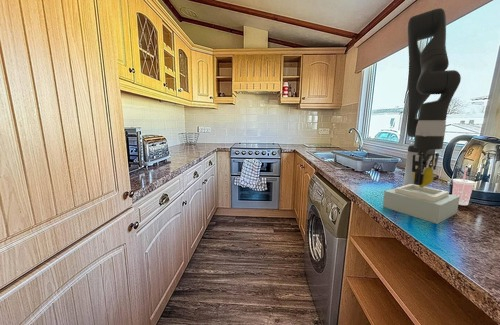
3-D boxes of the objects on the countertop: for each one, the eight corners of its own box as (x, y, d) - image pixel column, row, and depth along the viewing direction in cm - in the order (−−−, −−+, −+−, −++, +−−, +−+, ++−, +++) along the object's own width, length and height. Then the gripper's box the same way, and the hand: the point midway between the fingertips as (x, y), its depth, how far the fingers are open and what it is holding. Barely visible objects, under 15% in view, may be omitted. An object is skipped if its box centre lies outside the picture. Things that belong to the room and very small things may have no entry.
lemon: (424, 185, 77) (427, 163, 75) (435, 190, 71) (439, 166, 70) (407, 184, 77) (410, 163, 76) (418, 189, 72) (421, 166, 71)
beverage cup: (470, 203, 83) (477, 167, 80) (471, 207, 78) (478, 170, 76) (448, 199, 87) (454, 165, 84) (448, 203, 82) (455, 167, 80)
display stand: (404, 199, 86) (406, 181, 85) (456, 213, 73) (460, 192, 72) (382, 206, 78) (385, 187, 77) (437, 223, 65) (441, 200, 64)
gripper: (425, 133, 78) (418, 178, 81) (406, 134, 71) (399, 183, 74) (452, 134, 72) (444, 183, 75) (434, 135, 64) (425, 189, 67)
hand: (422, 183), depth 74 cm, fingers closed on lemon, 5 cm apart
